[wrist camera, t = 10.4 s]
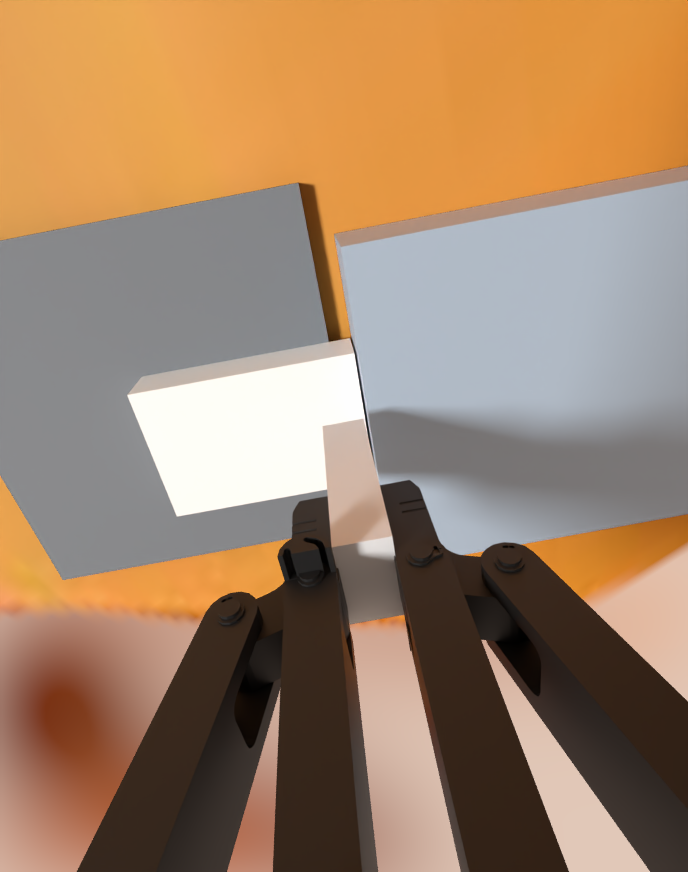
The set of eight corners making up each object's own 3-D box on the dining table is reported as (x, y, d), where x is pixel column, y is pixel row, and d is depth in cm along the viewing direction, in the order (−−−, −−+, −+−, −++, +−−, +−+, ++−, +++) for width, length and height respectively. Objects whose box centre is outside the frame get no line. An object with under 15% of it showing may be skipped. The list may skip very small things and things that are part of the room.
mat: (67, 571, 26) (62, 579, 26) (-114, 262, 19) (-126, 265, 18) (362, 517, 26) (363, 525, 26) (298, 182, 19) (298, 182, 18)
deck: (381, 514, 26) (393, 567, 23) (334, 233, 19) (340, 247, 16) (796, 438, 26) (875, 480, 22) (891, 126, 19) (1024, 115, 16)
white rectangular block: (186, 491, 24) (177, 516, 22) (141, 376, 21) (126, 395, 19) (369, 458, 24) (375, 480, 22) (349, 338, 21) (354, 353, 19)
